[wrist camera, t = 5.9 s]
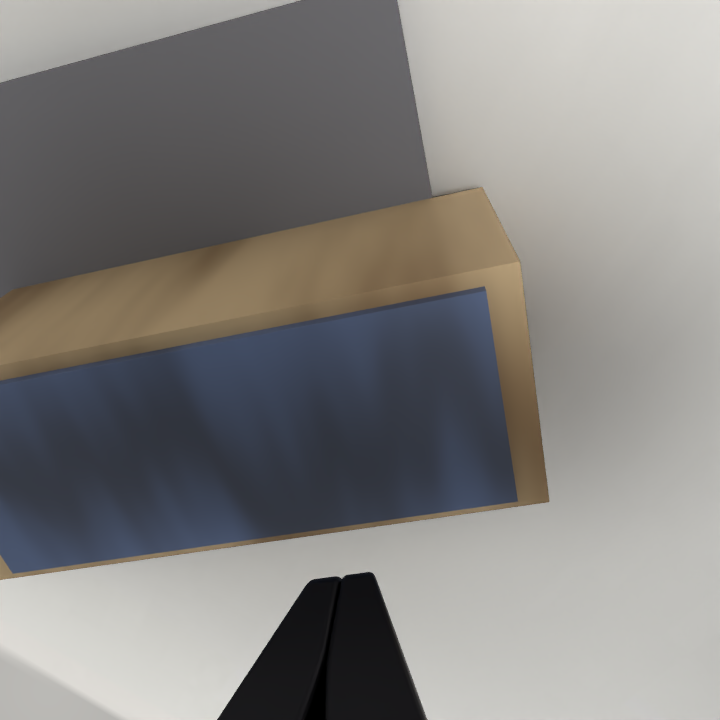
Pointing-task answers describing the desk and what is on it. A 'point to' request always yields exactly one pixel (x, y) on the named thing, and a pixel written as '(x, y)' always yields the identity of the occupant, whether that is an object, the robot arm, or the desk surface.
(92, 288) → the oak block
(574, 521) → the desk surface
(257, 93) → the mat
